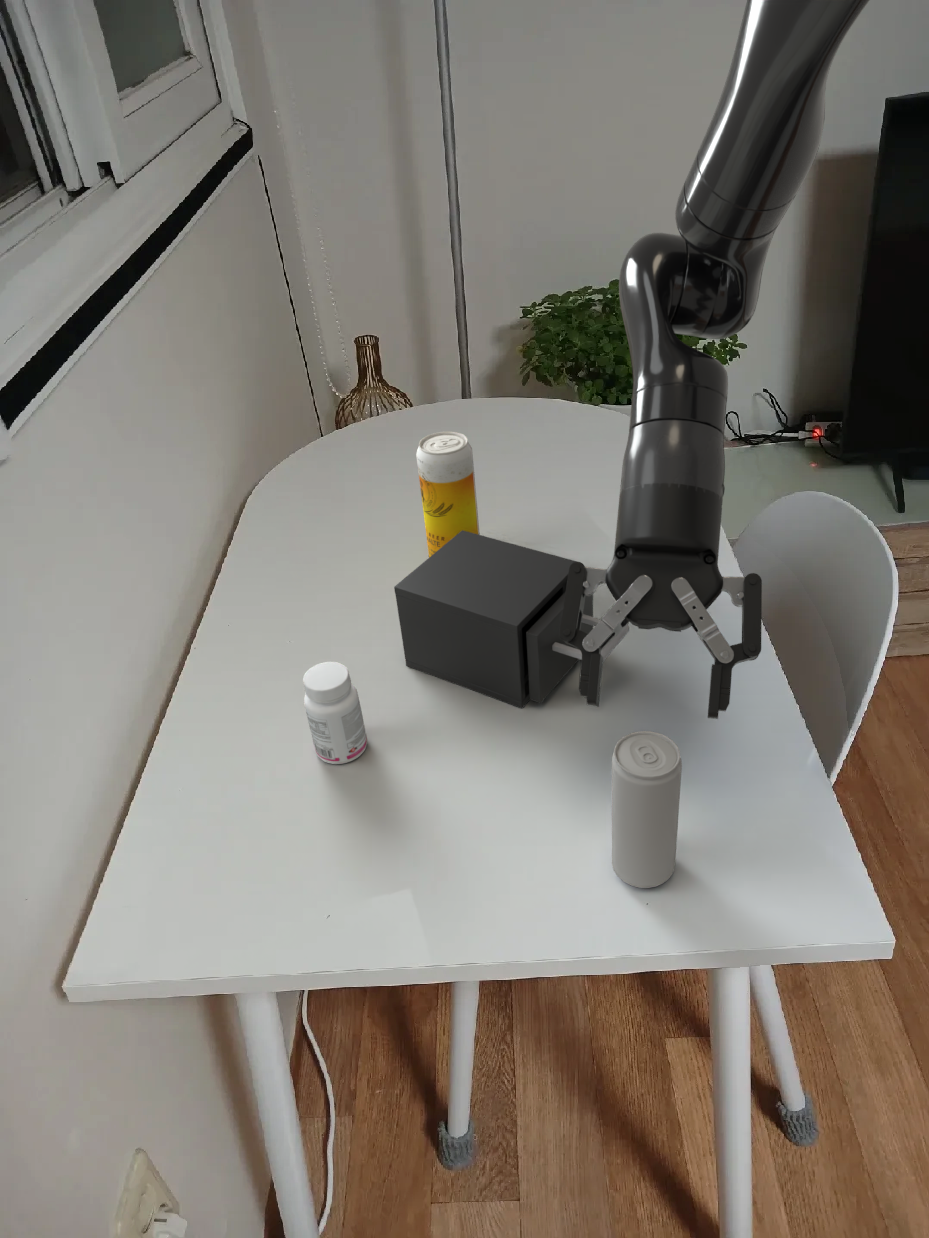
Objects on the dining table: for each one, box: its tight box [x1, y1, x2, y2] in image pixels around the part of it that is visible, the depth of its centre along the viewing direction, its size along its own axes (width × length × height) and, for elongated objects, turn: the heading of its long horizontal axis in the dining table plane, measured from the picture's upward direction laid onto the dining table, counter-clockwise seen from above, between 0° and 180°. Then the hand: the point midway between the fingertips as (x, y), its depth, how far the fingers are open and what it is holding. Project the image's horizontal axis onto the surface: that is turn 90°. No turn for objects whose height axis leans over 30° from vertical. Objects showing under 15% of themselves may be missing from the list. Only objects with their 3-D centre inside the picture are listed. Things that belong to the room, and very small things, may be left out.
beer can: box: [415, 431, 481, 558], centre depth 107 cm, size 6×6×15 cm
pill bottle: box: [302, 661, 368, 765], centre depth 84 cm, size 5×5×8 cm
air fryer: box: [393, 530, 578, 709], centre depth 93 cm, size 14×12×10 cm
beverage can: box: [611, 730, 683, 889], centre depth 69 cm, size 5×5×12 cm
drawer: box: [522, 584, 630, 704], centre depth 91 cm, size 17×10×8 cm, turn 56°
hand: (652, 711), depth 69 cm, fingers open, 8 cm apart
